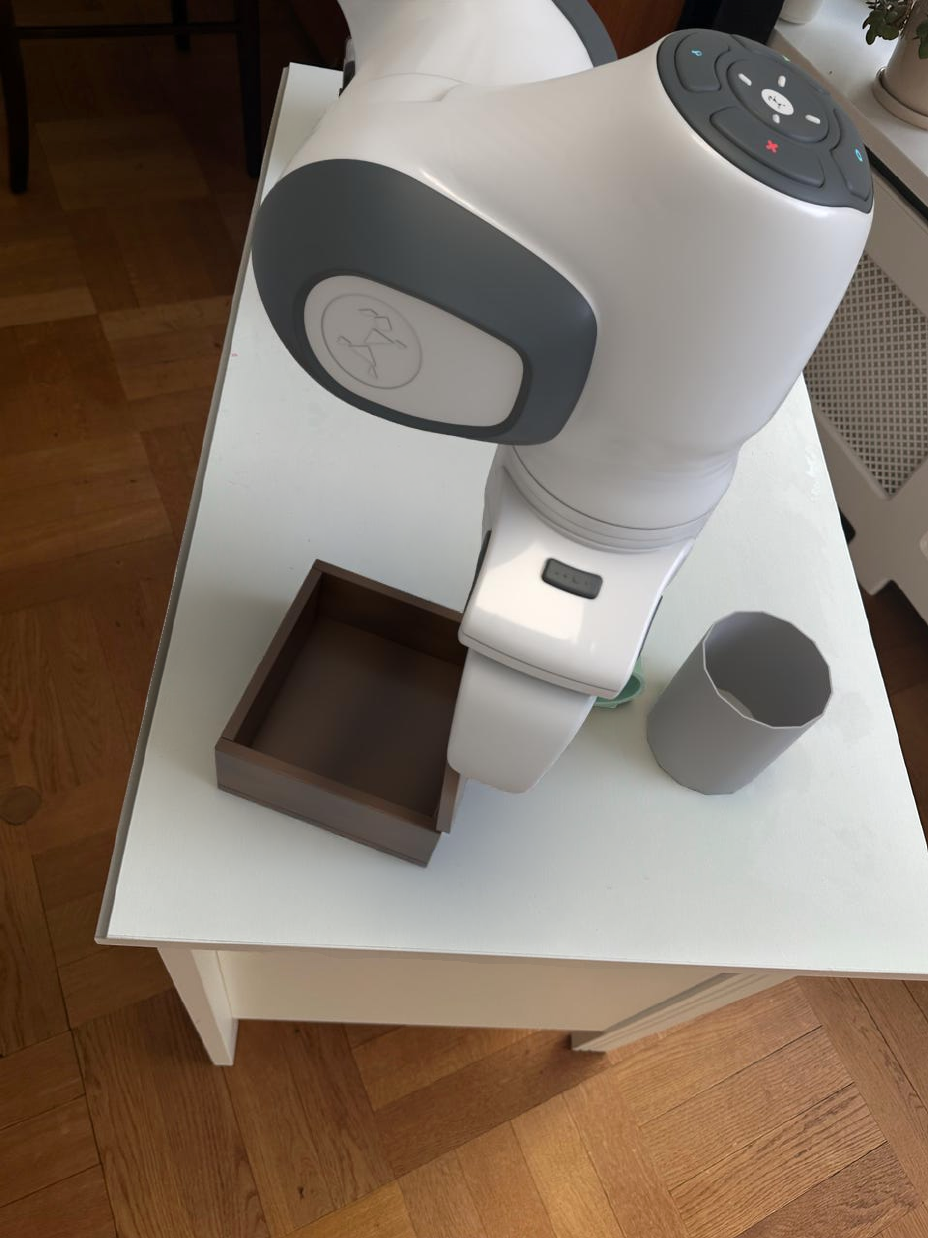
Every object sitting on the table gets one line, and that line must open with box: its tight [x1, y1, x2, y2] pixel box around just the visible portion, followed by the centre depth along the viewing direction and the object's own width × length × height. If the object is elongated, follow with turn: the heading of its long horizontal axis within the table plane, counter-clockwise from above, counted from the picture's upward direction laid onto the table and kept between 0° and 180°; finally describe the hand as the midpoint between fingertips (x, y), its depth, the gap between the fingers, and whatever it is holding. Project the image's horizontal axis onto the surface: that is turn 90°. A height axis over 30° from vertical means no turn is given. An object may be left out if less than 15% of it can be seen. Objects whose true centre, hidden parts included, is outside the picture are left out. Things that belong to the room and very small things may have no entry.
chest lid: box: [436, 699, 470, 835], centre depth 50 cm, size 14×15×1 cm
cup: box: [646, 610, 834, 796], centre depth 61 cm, size 8×8×10 cm
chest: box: [213, 558, 469, 869], centre depth 59 cm, size 14×15×6 cm
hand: (518, 659), depth 49 cm, fingers closed, pressing on chest lid
